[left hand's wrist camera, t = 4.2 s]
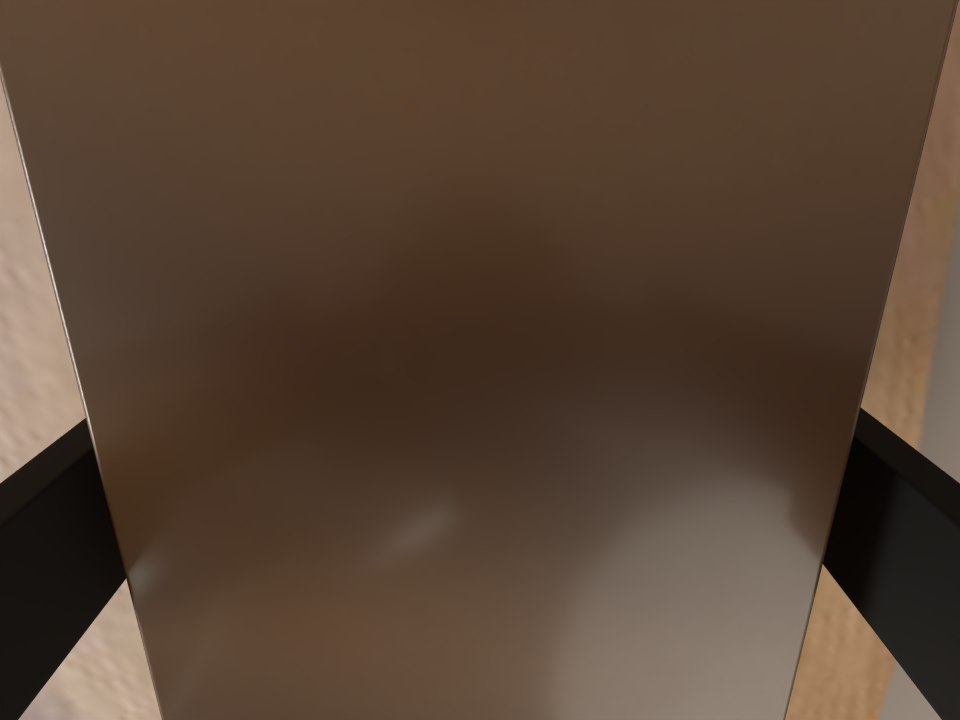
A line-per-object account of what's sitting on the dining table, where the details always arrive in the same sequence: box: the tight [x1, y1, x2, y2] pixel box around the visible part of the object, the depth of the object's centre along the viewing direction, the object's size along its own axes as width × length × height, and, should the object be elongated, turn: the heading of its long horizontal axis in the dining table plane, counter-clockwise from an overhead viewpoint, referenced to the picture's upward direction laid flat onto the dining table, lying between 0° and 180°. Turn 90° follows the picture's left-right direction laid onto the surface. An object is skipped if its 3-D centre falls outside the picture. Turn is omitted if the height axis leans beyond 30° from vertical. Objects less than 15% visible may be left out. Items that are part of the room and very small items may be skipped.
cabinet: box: [0, 0, 959, 720], centre depth 14 cm, size 17×11×12 cm, turn 0°
